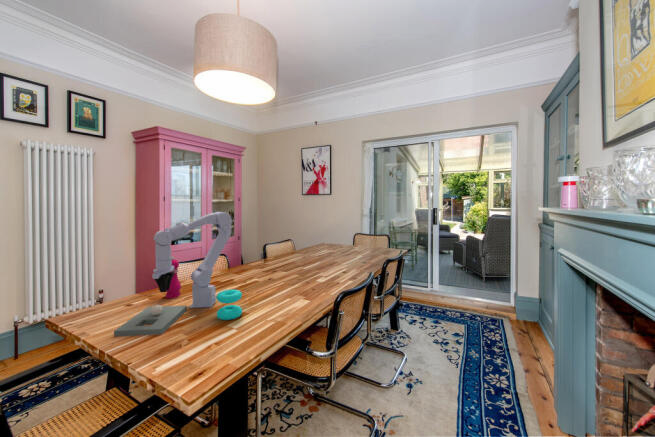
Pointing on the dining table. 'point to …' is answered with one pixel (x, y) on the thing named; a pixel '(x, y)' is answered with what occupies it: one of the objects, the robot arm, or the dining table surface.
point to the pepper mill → (174, 282)
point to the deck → (151, 322)
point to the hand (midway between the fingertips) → (164, 291)
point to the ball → (156, 309)
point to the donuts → (229, 310)
